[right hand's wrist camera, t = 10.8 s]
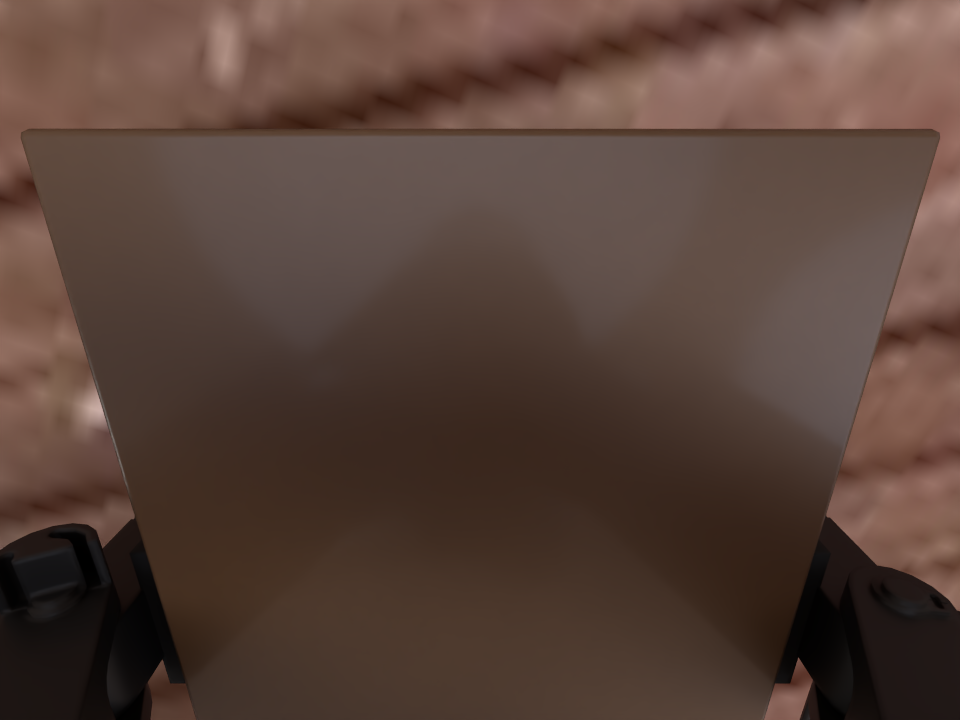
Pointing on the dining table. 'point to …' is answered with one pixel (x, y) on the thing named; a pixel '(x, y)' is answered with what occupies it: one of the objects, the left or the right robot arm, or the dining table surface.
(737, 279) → the thick board
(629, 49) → the dining table surface
